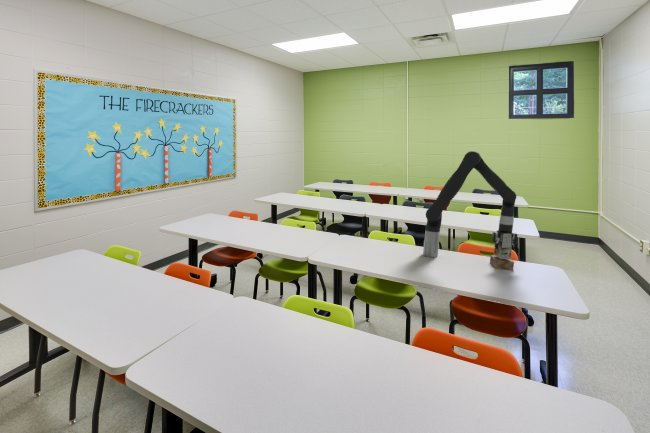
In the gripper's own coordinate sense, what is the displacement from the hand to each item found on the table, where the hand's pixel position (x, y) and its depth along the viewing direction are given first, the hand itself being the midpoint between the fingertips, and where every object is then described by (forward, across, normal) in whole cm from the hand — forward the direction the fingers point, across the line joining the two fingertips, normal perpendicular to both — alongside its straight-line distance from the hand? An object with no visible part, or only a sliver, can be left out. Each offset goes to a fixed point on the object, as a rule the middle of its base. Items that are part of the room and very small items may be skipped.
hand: (502, 249), depth 216 cm
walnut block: (+11, 0, 0) cm, 11 cm away
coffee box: (+5, 0, 0) cm, 5 cm away
